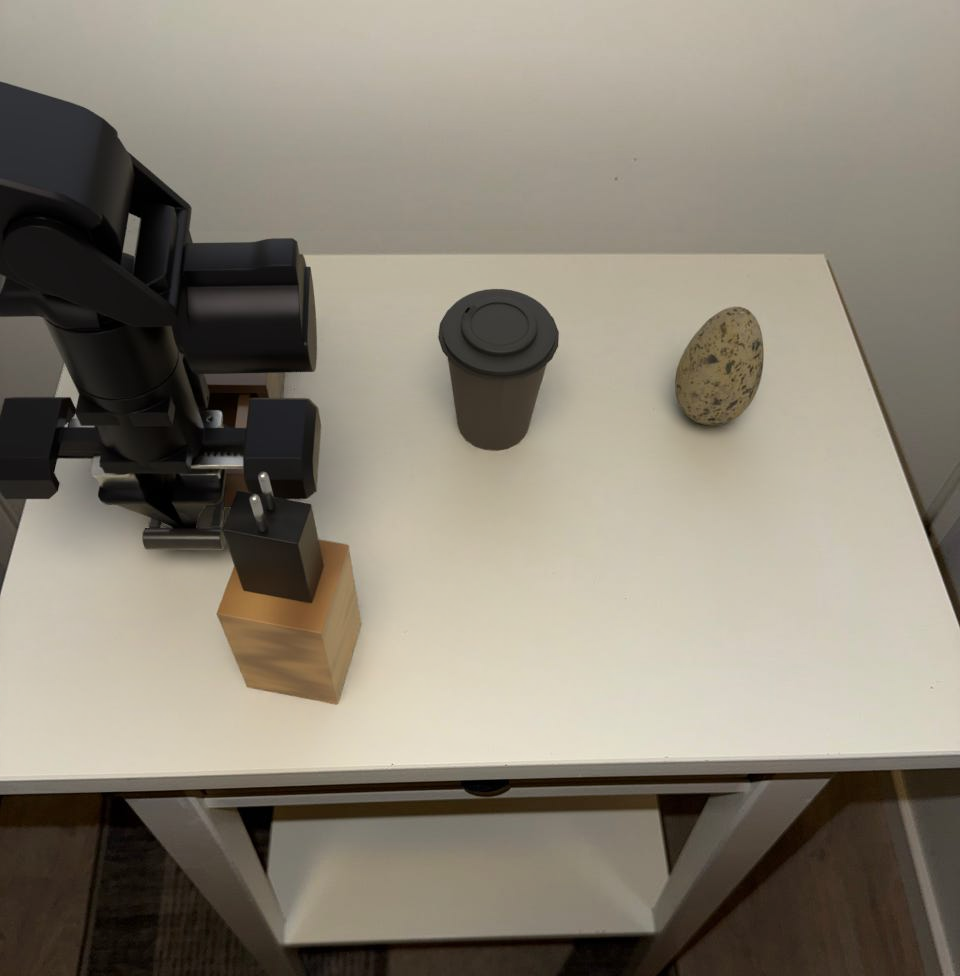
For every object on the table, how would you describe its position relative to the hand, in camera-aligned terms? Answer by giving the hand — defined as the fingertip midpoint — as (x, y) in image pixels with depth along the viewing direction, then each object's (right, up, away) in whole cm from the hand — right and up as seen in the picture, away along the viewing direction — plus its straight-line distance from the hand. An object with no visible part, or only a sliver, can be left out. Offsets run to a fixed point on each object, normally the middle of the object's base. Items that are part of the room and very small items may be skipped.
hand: (191, 526), depth 66 cm
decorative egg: (+36, +10, +9) cm, 39 cm away
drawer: (0, +5, +4) cm, 6 cm away
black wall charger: (+8, -4, -10) cm, 14 cm away
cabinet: (0, +13, +9) cm, 16 cm away
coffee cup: (+20, +9, +8) cm, 23 cm away
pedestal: (+8, -9, -2) cm, 12 cm away
